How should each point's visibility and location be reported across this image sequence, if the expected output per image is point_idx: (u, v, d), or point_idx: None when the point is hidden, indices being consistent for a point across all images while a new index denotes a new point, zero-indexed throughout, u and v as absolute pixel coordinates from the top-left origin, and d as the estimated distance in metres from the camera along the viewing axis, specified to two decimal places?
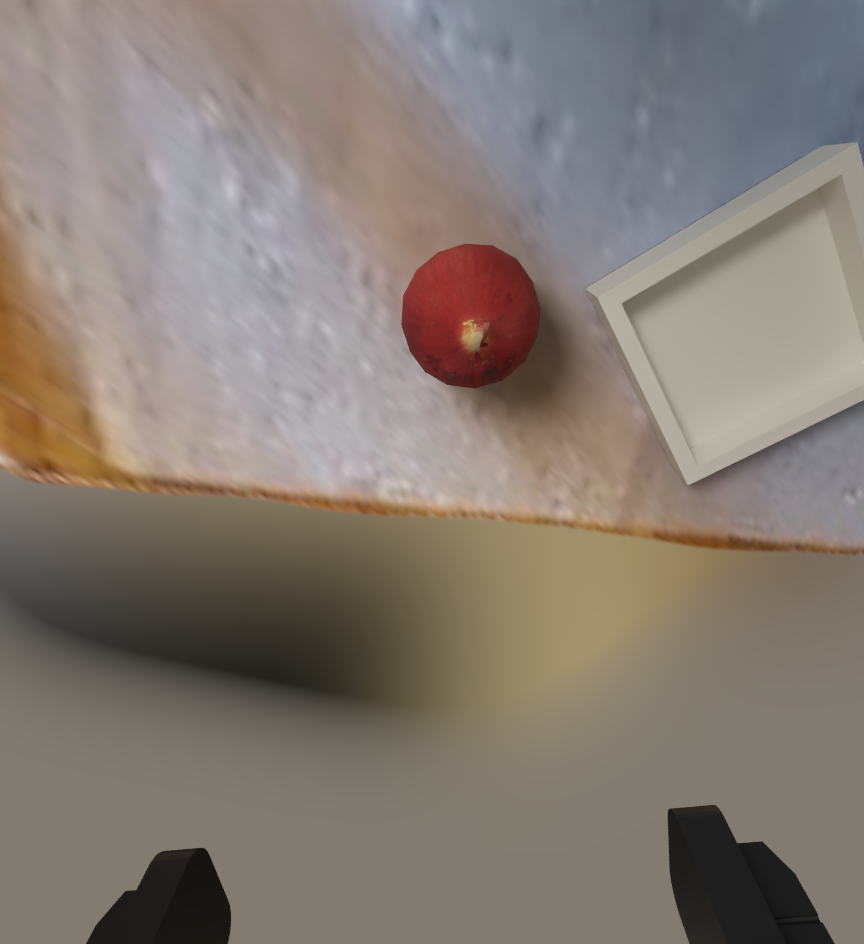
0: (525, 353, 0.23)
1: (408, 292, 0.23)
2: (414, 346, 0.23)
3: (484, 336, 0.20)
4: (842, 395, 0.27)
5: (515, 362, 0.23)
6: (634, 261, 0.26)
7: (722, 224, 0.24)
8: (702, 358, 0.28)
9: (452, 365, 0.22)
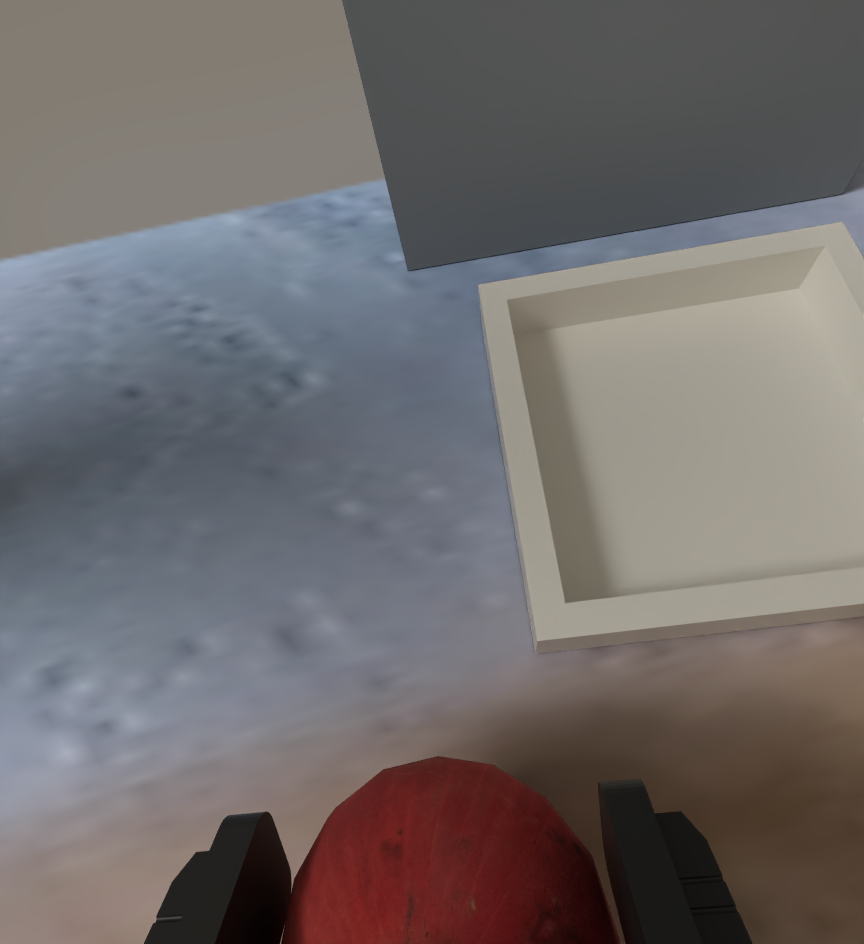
0: (560, 860, 0.09)
1: None
2: None
3: None
4: (859, 306, 0.16)
5: (567, 907, 0.09)
6: (521, 564, 0.16)
7: (504, 432, 0.16)
8: (728, 500, 0.16)
9: None
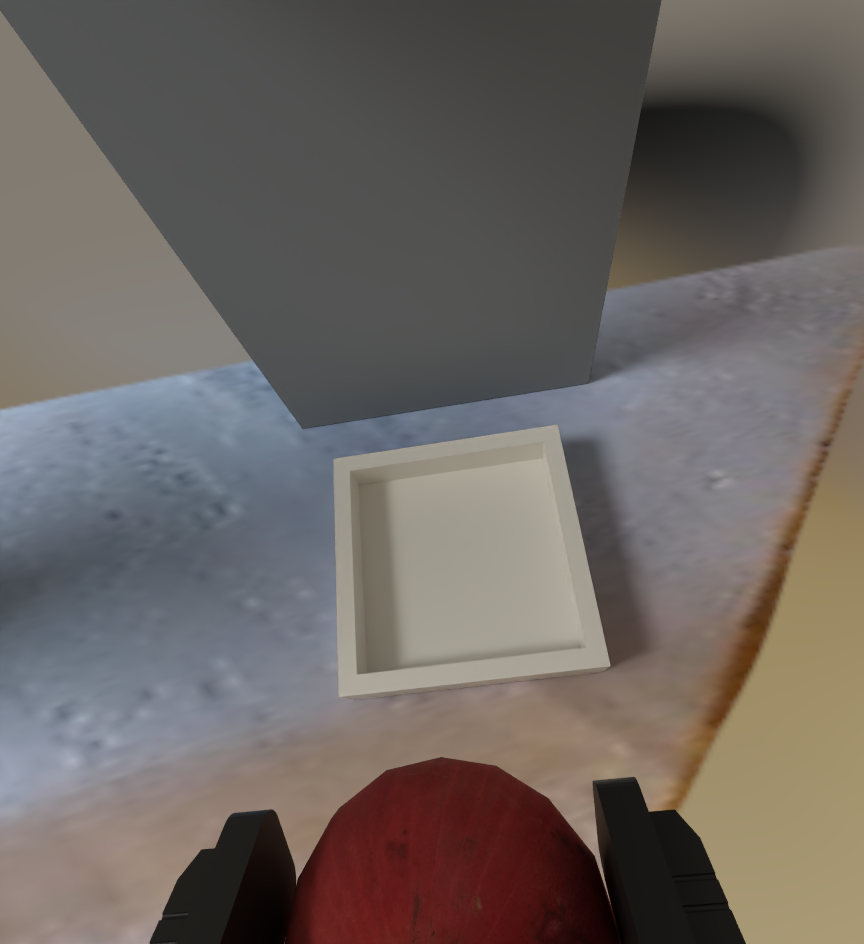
0: (564, 860, 0.09)
1: None
2: None
3: None
4: (553, 486, 0.26)
5: (572, 906, 0.09)
6: None
7: (336, 564, 0.26)
8: (474, 605, 0.26)
9: None
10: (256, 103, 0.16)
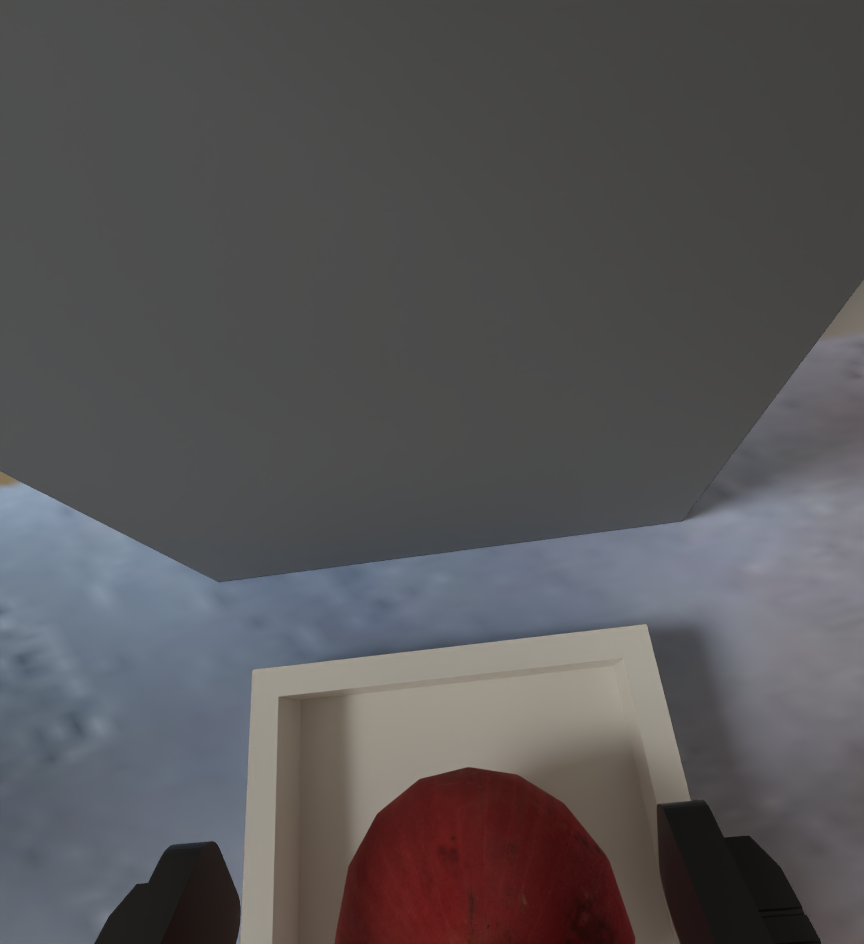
0: (587, 860, 0.11)
1: None
2: None
3: None
4: (647, 756, 0.14)
5: (596, 900, 0.10)
6: None
7: (244, 902, 0.14)
8: None
9: None
10: None
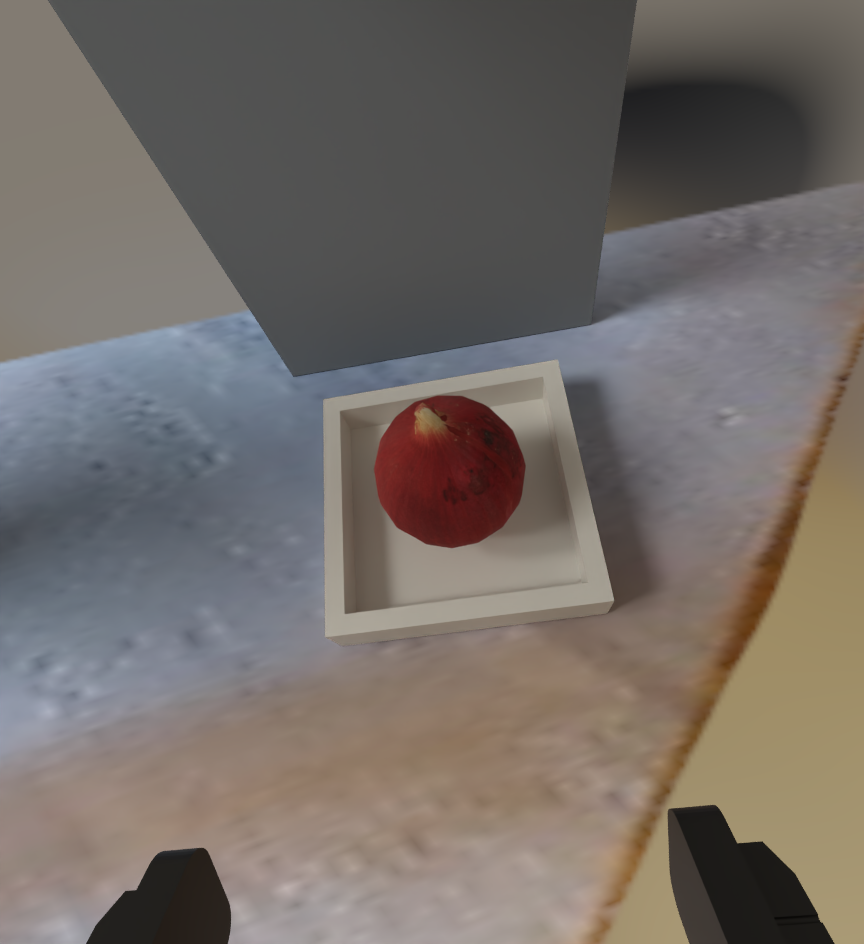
0: (496, 416, 0.21)
1: (389, 511, 0.21)
2: (434, 514, 0.20)
3: (430, 408, 0.19)
4: (553, 420, 0.25)
5: (497, 422, 0.21)
6: None
7: (325, 504, 0.25)
8: (470, 546, 0.25)
9: (459, 468, 0.19)
10: None
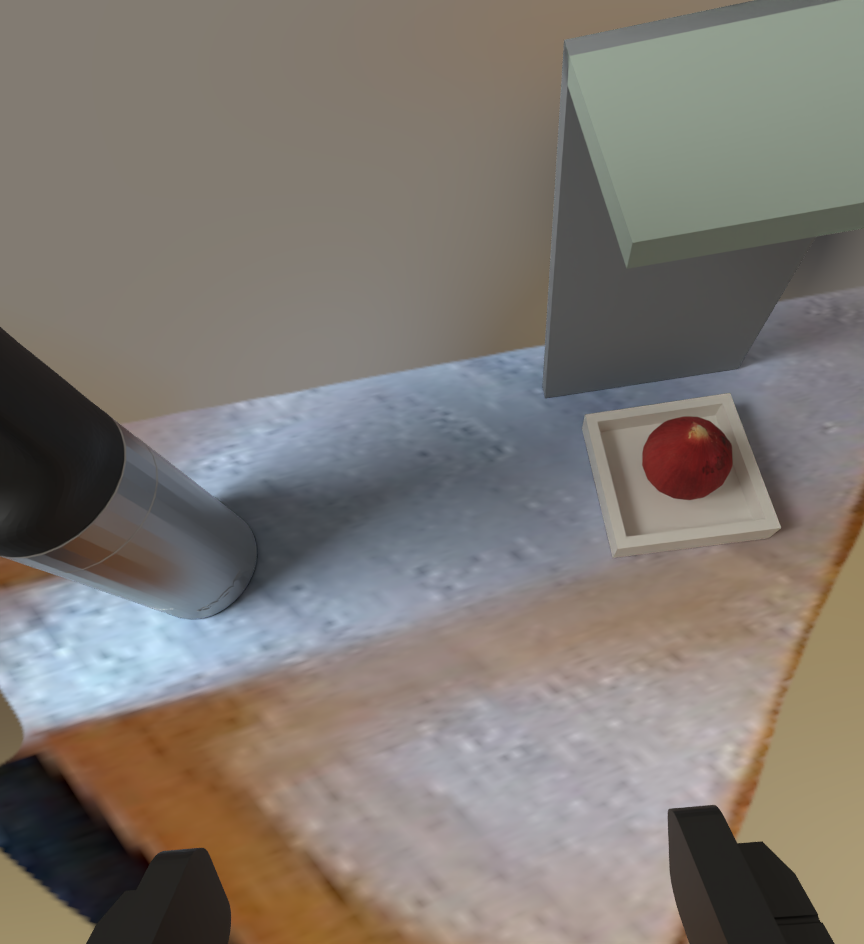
0: None
1: (660, 479, 0.39)
2: (694, 480, 0.38)
3: (700, 425, 0.36)
4: (732, 429, 0.42)
5: None
6: (606, 526, 0.43)
7: (600, 476, 0.42)
8: (684, 502, 0.42)
9: (712, 456, 0.37)
10: None
